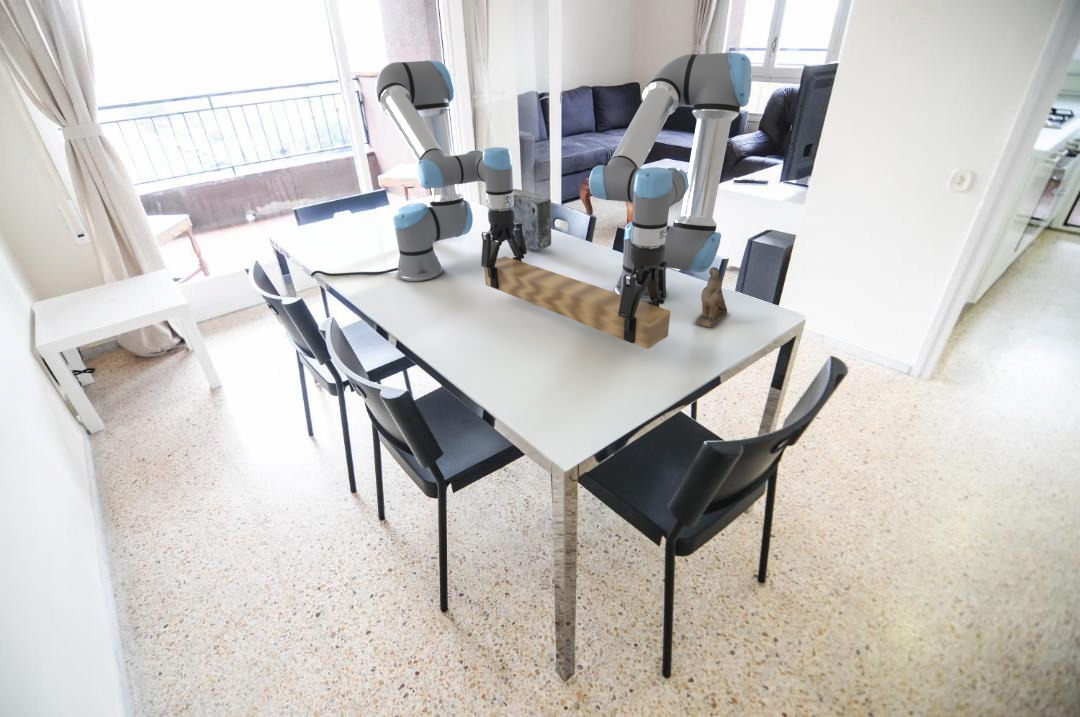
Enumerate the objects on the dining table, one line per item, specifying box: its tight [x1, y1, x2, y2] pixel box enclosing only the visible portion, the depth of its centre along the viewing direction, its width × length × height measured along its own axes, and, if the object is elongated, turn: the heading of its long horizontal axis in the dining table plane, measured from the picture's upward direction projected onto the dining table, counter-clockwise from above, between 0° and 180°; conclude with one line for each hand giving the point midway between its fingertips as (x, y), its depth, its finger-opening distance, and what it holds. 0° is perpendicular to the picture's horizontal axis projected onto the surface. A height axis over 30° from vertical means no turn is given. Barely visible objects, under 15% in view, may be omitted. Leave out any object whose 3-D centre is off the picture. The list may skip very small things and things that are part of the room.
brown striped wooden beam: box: [483, 255, 672, 350], centre depth 134 cm, size 59×9×7 cm, turn 45°
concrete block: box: [513, 188, 552, 251], centre depth 192 cm, size 27×9×20 cm, turn 36°
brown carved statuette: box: [695, 266, 728, 328], centre depth 135 cm, size 12×6×18 cm, turn 136°
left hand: (506, 282), depth 151 cm, fingers closed on brown striped wooden beam, 9 cm apart
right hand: (640, 333), depth 121 cm, fingers closed on brown striped wooden beam, 9 cm apart
